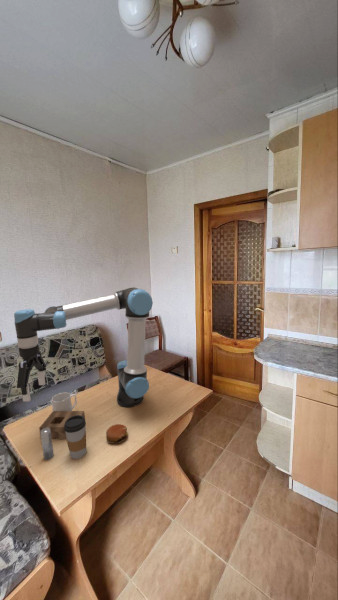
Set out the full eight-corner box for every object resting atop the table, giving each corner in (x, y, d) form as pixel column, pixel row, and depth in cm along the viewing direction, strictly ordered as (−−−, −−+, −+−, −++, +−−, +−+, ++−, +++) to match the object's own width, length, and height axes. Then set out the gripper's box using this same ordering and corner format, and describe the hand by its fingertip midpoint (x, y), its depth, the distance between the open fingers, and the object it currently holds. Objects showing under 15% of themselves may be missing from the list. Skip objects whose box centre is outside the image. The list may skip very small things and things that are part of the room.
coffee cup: (71, 447, 107) (67, 415, 104) (90, 445, 107) (87, 413, 105) (64, 462, 98) (60, 428, 96) (86, 460, 99) (82, 426, 97)
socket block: (85, 421, 123) (84, 410, 122) (75, 438, 112) (74, 426, 111) (54, 422, 124) (52, 411, 123) (41, 439, 112) (39, 427, 111)
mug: (57, 424, 122) (55, 403, 121) (51, 416, 129) (48, 397, 127) (81, 413, 130) (78, 394, 129) (74, 407, 137) (72, 388, 135)
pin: (55, 453, 104) (51, 427, 102) (50, 460, 100) (47, 433, 98) (46, 453, 104) (43, 427, 102) (42, 460, 100) (38, 433, 98)
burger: (104, 435, 113) (103, 426, 113) (123, 428, 118) (123, 419, 117) (109, 449, 105) (109, 439, 104) (130, 440, 109) (130, 431, 108)
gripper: (34, 337, 117) (39, 379, 121) (1, 357, 93) (9, 409, 96) (50, 336, 118) (55, 378, 121) (21, 356, 93) (29, 408, 96)
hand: (35, 392), depth 108 cm, fingers open, 13 cm apart
